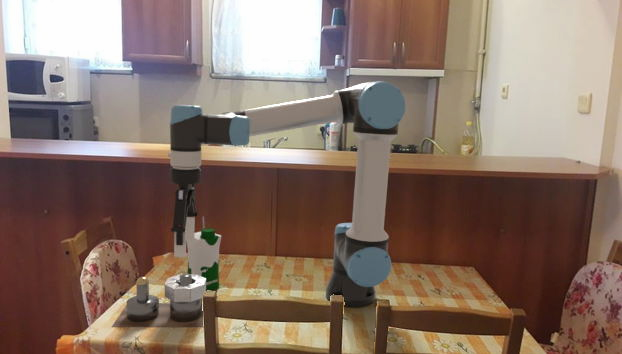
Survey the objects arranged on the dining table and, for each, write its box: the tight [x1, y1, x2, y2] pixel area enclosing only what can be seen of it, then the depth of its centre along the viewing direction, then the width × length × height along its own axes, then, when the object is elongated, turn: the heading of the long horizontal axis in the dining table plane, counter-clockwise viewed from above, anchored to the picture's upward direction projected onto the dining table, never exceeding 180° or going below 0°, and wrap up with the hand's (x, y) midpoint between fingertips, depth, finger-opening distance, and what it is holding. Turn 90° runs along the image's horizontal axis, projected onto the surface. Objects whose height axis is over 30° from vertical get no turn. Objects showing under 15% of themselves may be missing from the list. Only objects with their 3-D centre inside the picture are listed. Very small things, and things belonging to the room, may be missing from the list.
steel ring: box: [164, 273, 206, 302], centre depth 127 cm, size 10×10×4 cm
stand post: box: [169, 273, 202, 322], centre depth 127 cm, size 8×8×11 cm
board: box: [111, 302, 204, 328], centre depth 128 cm, size 14×24×2 cm, turn 95°
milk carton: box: [186, 227, 222, 291], centre depth 145 cm, size 9×9×20 cm
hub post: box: [126, 276, 160, 322], centre depth 126 cm, size 8×8×10 cm
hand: (184, 248), depth 125 cm, fingers open, 13 cm apart
